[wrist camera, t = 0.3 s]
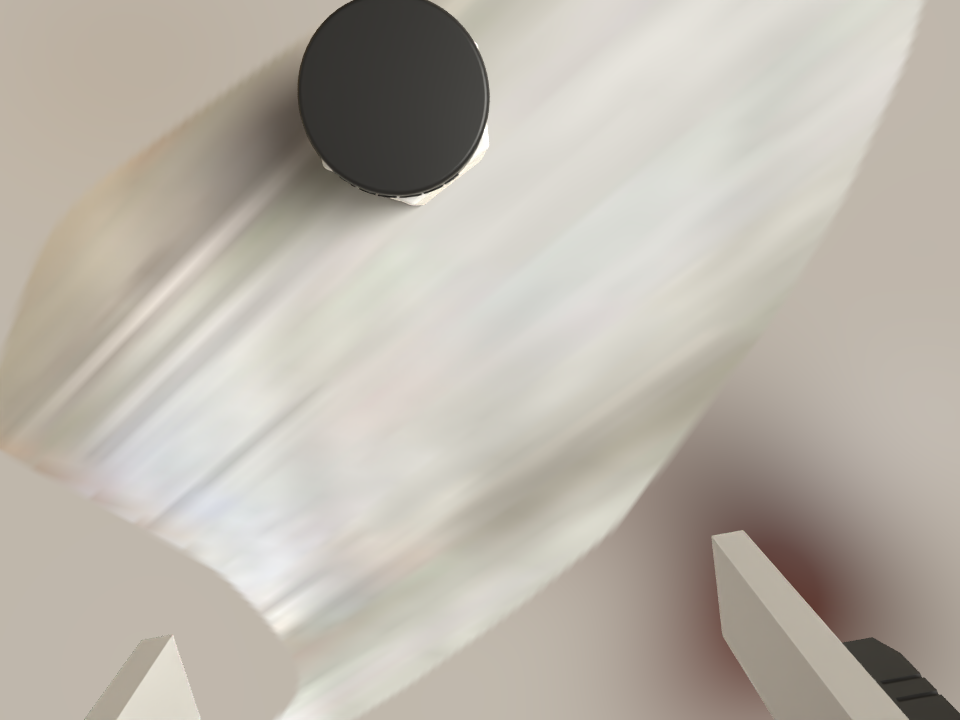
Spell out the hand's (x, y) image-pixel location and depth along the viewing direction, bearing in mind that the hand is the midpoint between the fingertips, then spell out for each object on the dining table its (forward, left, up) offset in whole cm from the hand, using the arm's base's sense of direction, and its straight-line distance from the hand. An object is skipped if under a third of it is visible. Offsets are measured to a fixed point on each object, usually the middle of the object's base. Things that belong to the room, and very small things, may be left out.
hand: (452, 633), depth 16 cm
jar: (-15, 0, -28) cm, 31 cm away
